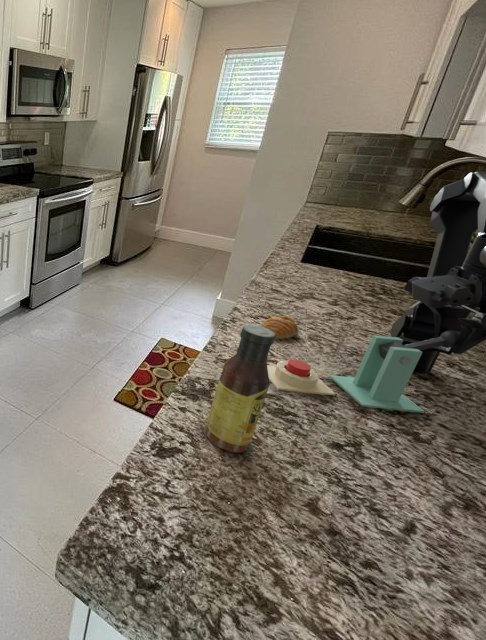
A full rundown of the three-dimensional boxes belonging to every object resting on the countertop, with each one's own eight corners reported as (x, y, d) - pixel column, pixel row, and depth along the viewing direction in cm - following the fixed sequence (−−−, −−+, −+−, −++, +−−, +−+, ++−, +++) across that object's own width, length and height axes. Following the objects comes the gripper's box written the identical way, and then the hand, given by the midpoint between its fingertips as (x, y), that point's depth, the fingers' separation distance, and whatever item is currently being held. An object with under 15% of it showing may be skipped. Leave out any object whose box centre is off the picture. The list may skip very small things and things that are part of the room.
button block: (307, 373, 84) (312, 361, 83) (333, 399, 77) (339, 385, 76) (255, 368, 85) (259, 356, 84) (276, 393, 78) (281, 380, 77)
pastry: (285, 346, 94) (290, 331, 93) (252, 334, 99) (257, 320, 98) (298, 334, 100) (303, 320, 98) (266, 323, 104) (270, 310, 103)
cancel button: (301, 367, 81) (303, 360, 81) (312, 378, 78) (315, 370, 77) (281, 365, 82) (284, 358, 81) (292, 376, 78) (295, 368, 78)
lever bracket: (382, 385, 81) (406, 333, 77) (422, 416, 73) (451, 360, 69) (327, 379, 82) (348, 328, 78) (360, 410, 74) (386, 354, 70)
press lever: (455, 339, 73) (454, 325, 72) (471, 348, 71) (471, 333, 70) (378, 356, 76) (376, 342, 75) (391, 365, 73) (390, 351, 73)
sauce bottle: (247, 461, 62) (287, 348, 55) (202, 444, 65) (234, 334, 58) (248, 435, 67) (284, 328, 60) (205, 420, 70) (235, 316, 63)
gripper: (390, 245, 77) (359, 319, 82) (493, 284, 59) (446, 374, 65) (456, 250, 75) (420, 324, 81) (582, 291, 58) (525, 382, 64)
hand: (447, 348), depth 73 cm, fingers closed on press lever, 3 cm apart
